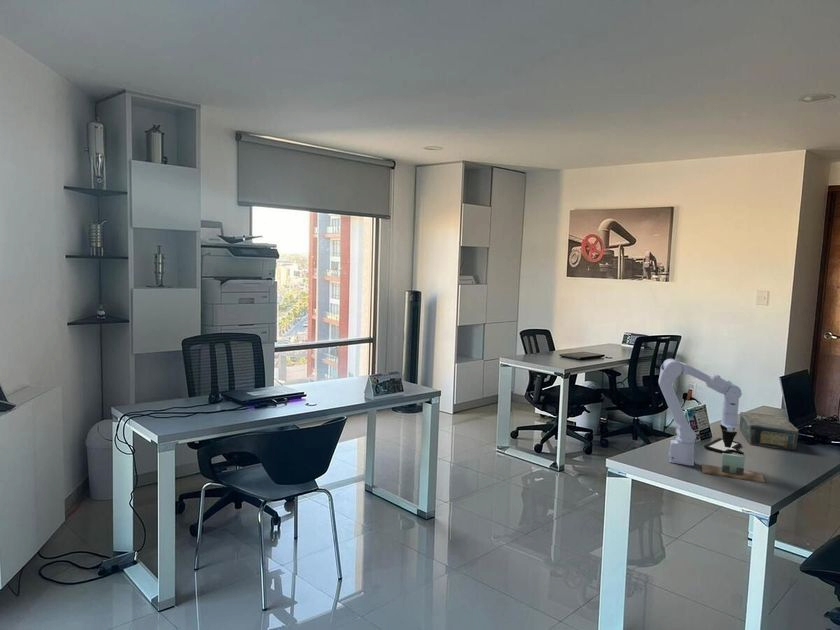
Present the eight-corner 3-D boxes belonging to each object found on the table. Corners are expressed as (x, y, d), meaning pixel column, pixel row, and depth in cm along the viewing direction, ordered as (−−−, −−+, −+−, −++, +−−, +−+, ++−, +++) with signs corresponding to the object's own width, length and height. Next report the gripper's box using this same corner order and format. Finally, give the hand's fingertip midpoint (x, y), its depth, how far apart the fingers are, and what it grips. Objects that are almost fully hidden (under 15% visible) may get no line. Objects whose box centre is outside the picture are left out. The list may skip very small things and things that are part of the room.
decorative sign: (753, 450, 283) (719, 441, 294) (754, 446, 283) (720, 437, 293) (737, 459, 267) (702, 449, 278) (738, 455, 267) (703, 445, 277)
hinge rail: (702, 472, 243) (703, 464, 243) (701, 465, 252) (702, 457, 252) (764, 483, 235) (765, 474, 234) (761, 475, 244) (762, 467, 243)
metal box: (747, 445, 289) (749, 424, 288) (737, 429, 320) (739, 410, 319) (798, 452, 282) (800, 431, 281) (783, 435, 312) (785, 416, 312)
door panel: (721, 470, 244) (722, 454, 244) (720, 469, 246) (722, 452, 245) (743, 474, 241) (744, 457, 240) (742, 473, 243) (744, 456, 242)
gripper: (742, 417, 242) (739, 450, 243) (738, 410, 256) (735, 442, 257) (723, 415, 245) (719, 448, 246) (720, 408, 258) (717, 439, 259)
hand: (726, 444), depth 252 cm, fingers open, 7 cm apart
